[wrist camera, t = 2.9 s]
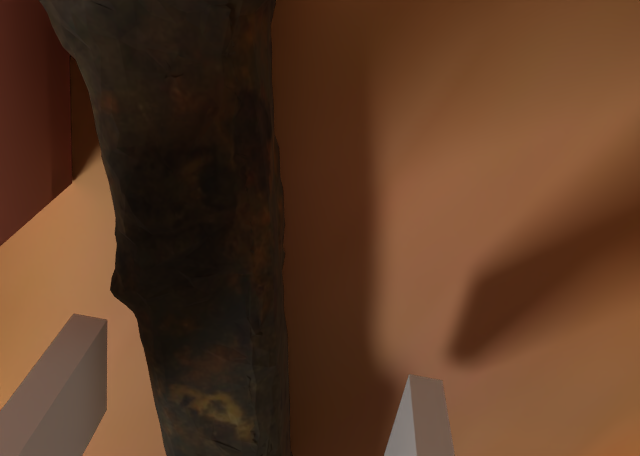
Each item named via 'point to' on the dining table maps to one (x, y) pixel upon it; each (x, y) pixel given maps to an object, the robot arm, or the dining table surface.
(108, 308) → the dining table surface
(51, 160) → the pink tray
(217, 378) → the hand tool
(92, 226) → the dining table surface
